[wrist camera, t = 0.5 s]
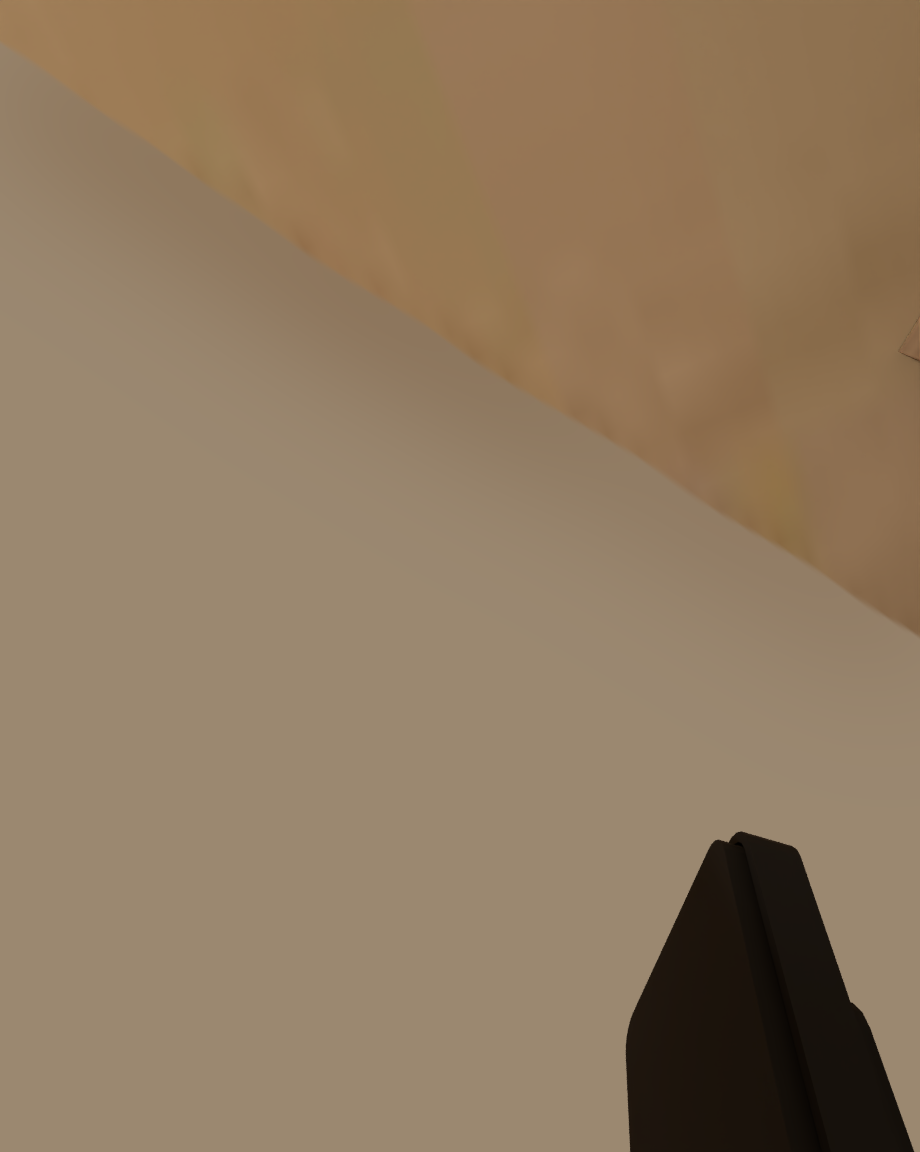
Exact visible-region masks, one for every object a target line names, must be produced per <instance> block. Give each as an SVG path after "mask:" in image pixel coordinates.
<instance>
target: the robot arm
mask: <svg viewBox="0 0 920 1152" xmlns="http://www.w3.org/2000/svg"><path fill="white" fill-rule="evenodd" d="M626 1067H627V1068H626V1069H627V1090H628V1112H629V1134H630V1152H914V1150H913V1147H912V1145H911V1142H910V1139H909V1136H908V1133H907V1130H906V1128H905V1125H904V1122H903V1119H902V1117H901V1114H900V1111H899V1108H898V1105H897V1102H896V1100H895V1097H894V1094H893V1091H892V1088H891V1086H890V1083H889V1080H888V1077H887V1074H886V1071H885V1069H884V1066H883V1063H882V1060H881V1057H880V1055H879V1052H878V1049H877V1046H876V1043H875V1041H874V1038H873V1035H872V1032H871V1029H870V1027H869V1025H868V1023H867V1021H866V1019H865V1017H864V1015H863V1013H862V1012H861V1011H860V1010H859V1009H858V1008H857V1007H856V1006H855V1005H854V1004H853V1003H851V1002H850V1000H849V997H848V994H847V991H846V988H845V985H844V982H843V979H842V976H841V973H840V970H839V967H838V964H837V962H836V959H835V956H834V953H833V950H832V947H831V944H830V941H829V938H828V935H827V932H826V930H825V926H824V924H823V921H822V918H821V915H820V912H819V909H818V906H817V903H816V900H815V897H814V894H813V892H812V889H811V886H810V883H809V880H808V877H807V874H806V871H805V868H804V865H803V862H802V859H801V856H800V855H799V853H798V851H797V849H795V848H794V847H792V846H790V845H786V844H783V843H779V842H776V841H772V840H768V839H765V838H762V837H759V836H755V835H752V834H748V833H745V832H738V833H736V834H735V835H734V836H733V837H732V838H731V840H730V841H729V843H728V842H724V841H721V840H715V841H714V842H713V843H712V844H711V846H710V848H709V850H708V852H707V854H706V856H705V858H704V860H703V863H702V865H701V867H700V870H699V871H698V874H697V876H696V878H695V880H694V882H693V885H692V886H691V889H690V891H689V893H688V895H687V897H686V899H685V902H684V904H683V906H682V908H681V910H680V912H679V915H678V917H677V919H676V921H675V923H674V925H673V928H672V930H671V932H670V934H669V936H668V938H667V941H666V943H665V945H664V947H663V949H662V951H661V954H660V956H659V958H658V960H657V962H656V964H655V967H654V969H653V971H652V973H651V975H650V977H649V980H648V982H647V984H646V986H645V988H644V990H643V993H642V995H641V997H640V999H639V1001H638V1003H637V1006H636V1008H635V1010H634V1012H633V1015H632V1017H631V1020H630V1024H629V1028H628V1033H627V1040H626Z"/></svg>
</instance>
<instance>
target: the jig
mask: <svg viewBox="0 0 920 1152" xmlns="http://www.w3.org/2000/svg"><path fill="white" fill-rule="evenodd" d="M898 352H900V353H903V354H905V355H907V356H909V357H912V358H914V359H916V360H918V361H920V317H919V319H918V320H917V322H916V324H915V325H914V327H913V328H912V330H911V332H910V333H909V335H908V337H907V338H906V340H905V342H904V343H903V345H902V347H901V348H900V350H899V351H898Z"/></svg>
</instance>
